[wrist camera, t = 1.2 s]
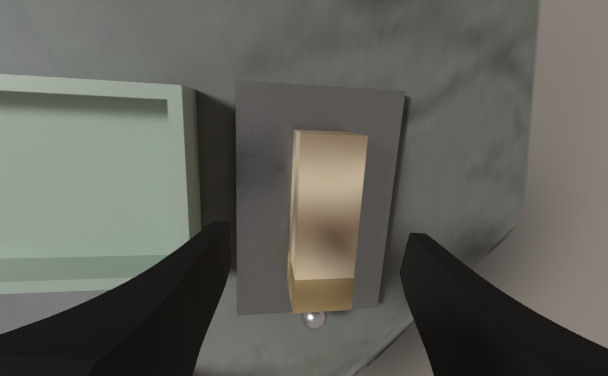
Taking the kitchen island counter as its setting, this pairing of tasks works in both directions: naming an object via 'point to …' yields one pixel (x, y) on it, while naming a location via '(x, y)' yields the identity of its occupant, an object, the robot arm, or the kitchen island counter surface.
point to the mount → (278, 180)
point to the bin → (93, 180)
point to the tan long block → (324, 218)
